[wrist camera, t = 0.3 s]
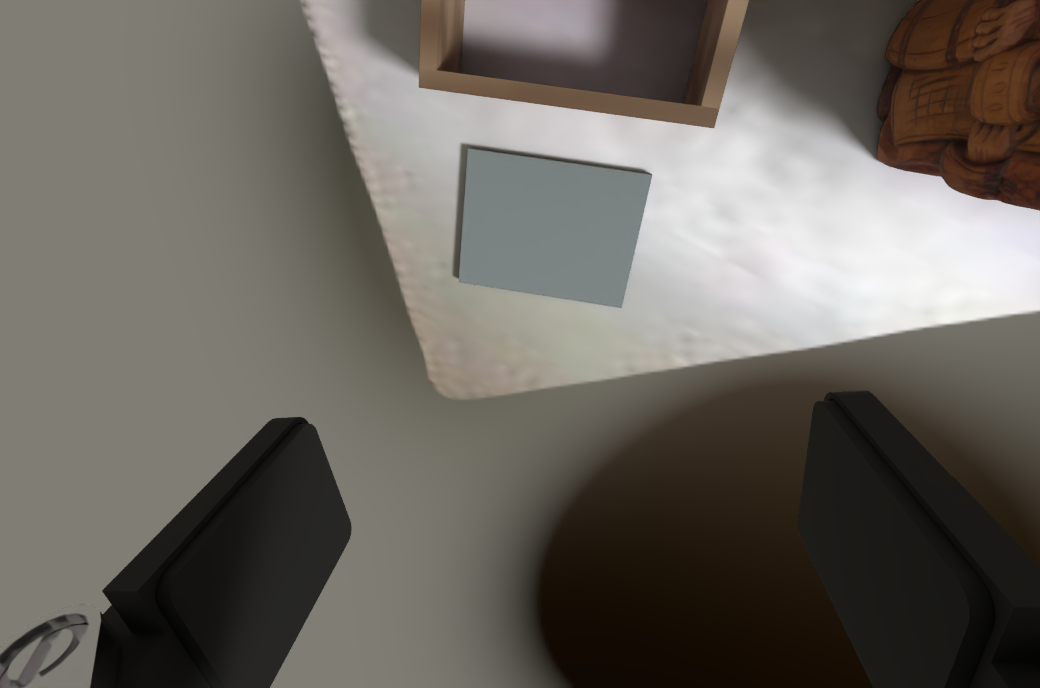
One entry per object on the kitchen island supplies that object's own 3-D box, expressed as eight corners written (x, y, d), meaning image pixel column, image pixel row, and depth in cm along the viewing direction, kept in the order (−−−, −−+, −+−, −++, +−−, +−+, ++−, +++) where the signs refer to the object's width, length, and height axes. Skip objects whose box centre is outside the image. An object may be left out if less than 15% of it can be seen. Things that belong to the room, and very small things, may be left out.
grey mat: (469, 148, 36) (467, 148, 35) (651, 174, 35) (652, 175, 34) (460, 279, 40) (458, 282, 40) (621, 305, 39) (621, 308, 39)
